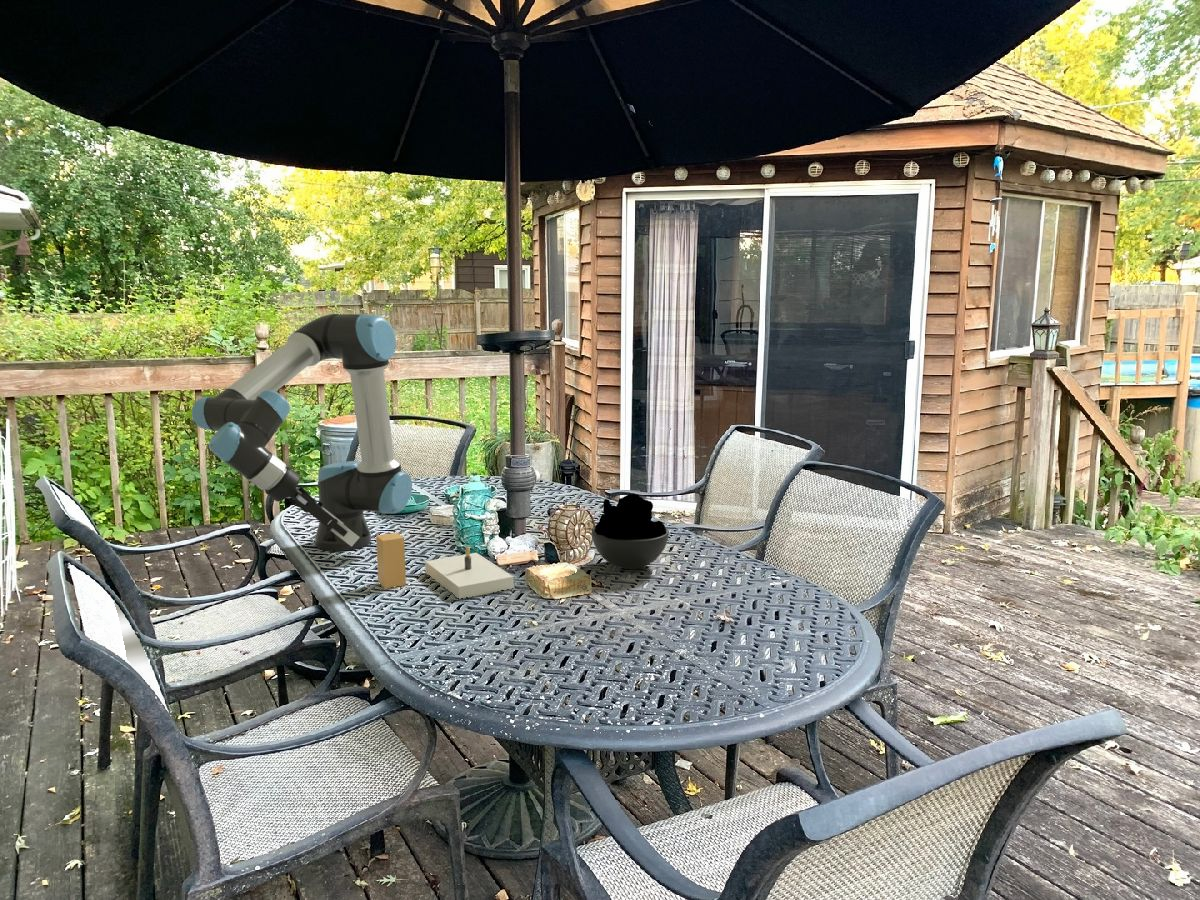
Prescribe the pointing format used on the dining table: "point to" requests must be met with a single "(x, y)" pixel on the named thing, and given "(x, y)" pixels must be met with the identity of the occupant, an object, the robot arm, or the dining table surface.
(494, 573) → the plate
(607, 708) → the dining table surface
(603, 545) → the coal bowl
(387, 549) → the tan upright carton
